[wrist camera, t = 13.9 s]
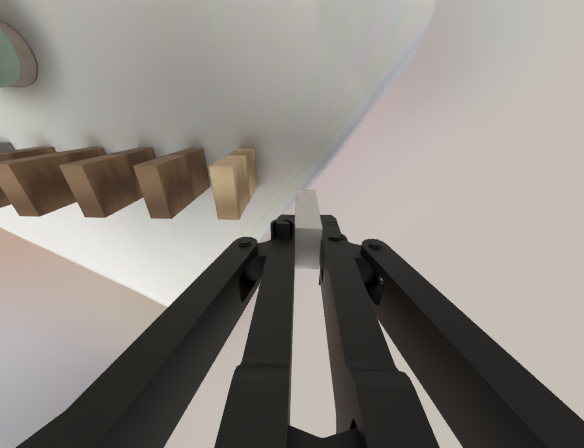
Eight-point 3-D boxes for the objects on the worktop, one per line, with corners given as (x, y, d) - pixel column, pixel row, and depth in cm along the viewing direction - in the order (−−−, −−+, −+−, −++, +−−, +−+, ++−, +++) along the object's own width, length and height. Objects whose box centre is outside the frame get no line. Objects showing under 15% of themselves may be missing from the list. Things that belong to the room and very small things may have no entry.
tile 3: (137, 148, 27) (58, 164, 18) (152, 148, 27) (81, 165, 18) (149, 185, 29) (85, 217, 20) (163, 186, 29) (105, 217, 20)
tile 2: (187, 148, 27) (132, 165, 18) (203, 148, 27) (156, 165, 18) (195, 186, 29) (151, 218, 20) (210, 186, 29) (171, 218, 20)
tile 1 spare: (238, 148, 27) (208, 166, 18) (254, 148, 27) (232, 166, 18) (242, 186, 29) (218, 219, 20) (257, 187, 29) (238, 219, 20)
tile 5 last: (38, 147, 27) (-87, 163, 18) (53, 147, 27) (-65, 163, 18) (58, 184, 29) (-45, 215, 21) (72, 184, 29) (-25, 215, 21)
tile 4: (87, 147, 27) (-15, 163, 18) (103, 147, 27) (7, 164, 18) (103, 185, 29) (19, 216, 20) (117, 185, 29) (39, 216, 20)
